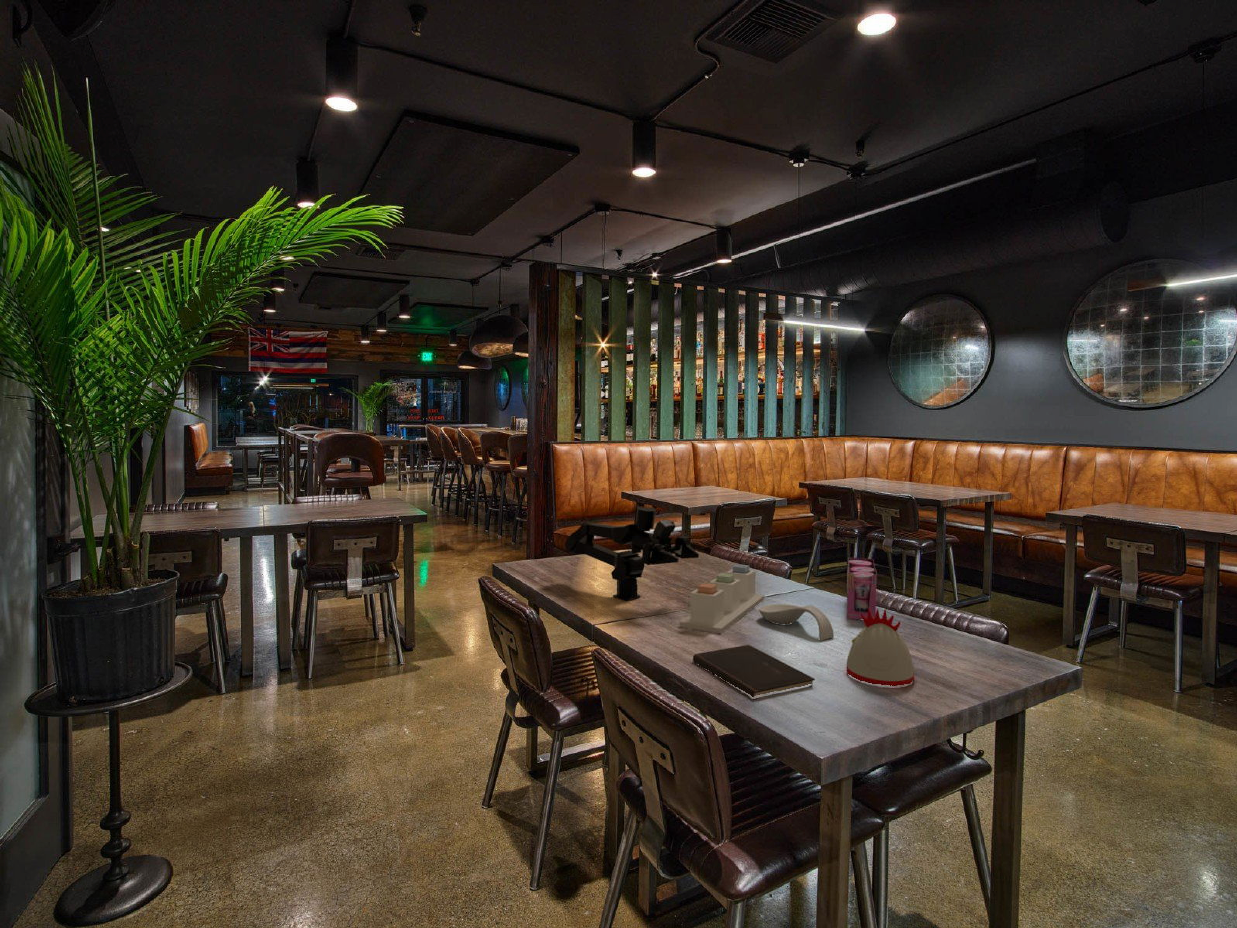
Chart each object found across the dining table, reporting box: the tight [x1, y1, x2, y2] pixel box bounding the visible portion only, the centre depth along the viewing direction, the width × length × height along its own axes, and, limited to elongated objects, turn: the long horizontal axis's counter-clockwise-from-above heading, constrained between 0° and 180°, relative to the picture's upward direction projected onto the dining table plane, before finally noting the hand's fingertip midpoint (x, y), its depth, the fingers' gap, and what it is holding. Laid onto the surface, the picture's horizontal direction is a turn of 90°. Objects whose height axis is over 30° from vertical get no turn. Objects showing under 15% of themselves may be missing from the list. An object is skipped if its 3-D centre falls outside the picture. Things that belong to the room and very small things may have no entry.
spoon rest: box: [758, 603, 835, 641], centre depth 176 cm, size 24×12×7 cm, turn 29°
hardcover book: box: [692, 644, 816, 697], centre depth 143 cm, size 16×23×2 cm
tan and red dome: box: [845, 608, 915, 686], centre depth 141 cm, size 14×14×15 cm
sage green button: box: [715, 572, 734, 584], centre depth 188 cm, size 4×4×4 cm
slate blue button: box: [732, 563, 750, 574], centre depth 200 cm, size 4×4×4 cm
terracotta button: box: [697, 582, 717, 595], centre depth 176 cm, size 4×4×4 cm
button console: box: [679, 568, 765, 634], centre depth 189 cm, size 12×38×10 cm, turn 150°
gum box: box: [846, 557, 878, 620], centre depth 191 cm, size 24×8×14 cm, turn 160°
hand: (688, 558), depth 186 cm, fingers open, 9 cm apart
